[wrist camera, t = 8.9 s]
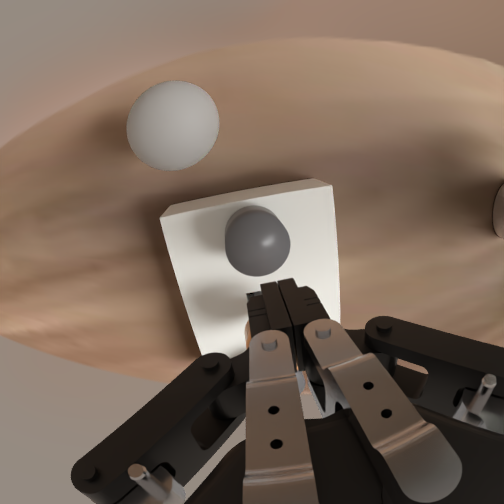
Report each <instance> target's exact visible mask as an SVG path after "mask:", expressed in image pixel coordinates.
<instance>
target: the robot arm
mask: <svg viewBox="0 0 504 504" xmlns="http://www.w3.org/2000/svg"><path fill="white" fill-rule="evenodd" d="M493 226H494V230H495V232H496V234H497V235H498V236H499V237H501V238H503V239H504V184H503V185H502V186H501V187H500V189H499V191H498V193H497V196H496V199H495V203H494V208H493ZM260 287H261V293H262V295H259V296H253V297H250V299H249V301H248V302H247V310H248V317H249V325H250V332H251V340H250V343H249V347H248V349H247V350H246V351H244V352H243V353H241V354H240V355H237V356H235V357H233V358H229V357H228V356H227V355H226V354H223V353H218V352H213V353H207V354H204V355H202V356H200V357H199V358H197V359H196V360H195V361H194V362H193V363H192V364H191V365H190V366H188V367H187V368H186V369H185V370H184V371H183V372H182V373H181V374H180V375H178V376H177V377H176V378H175V379H174V380H173V381H172V382H171V383H170V384H168V385H167V386H166V387H165V388H164V389H163V390H162V391H160V392H159V393H158V394H157V395H156V396H155V397H154V398H153V399H151V400H150V401H149V402H148V403H147V404H146V405H145V406H143V407H142V408H141V409H140V410H139V411H137V412H136V413H135V414H134V415H133V416H132V417H131V418H129V419H128V420H127V421H126V422H125V423H124V424H122V425H121V426H120V427H119V428H117V429H116V430H115V431H114V432H113V433H111V434H110V435H109V436H108V437H107V438H105V439H104V440H103V441H102V442H101V443H99V444H98V445H97V446H96V447H94V448H93V449H92V450H91V451H89V452H88V453H87V454H86V455H85V456H83V457H82V458H81V459H79V460H78V461H77V462H76V463H75V464H74V466H73V468H72V471H71V480H72V483H73V485H74V486H75V488H76V489H77V490H79V491H80V492H81V493H83V494H84V495H86V496H87V497H89V498H90V499H91V500H92V501H93V502H94V503H96V504H183V503H184V501H185V495H186V494H185V490H184V488H183V487H184V486H185V485H186V484H187V483H188V482H189V481H190V480H191V478H192V477H193V476H194V475H195V474H196V473H197V472H198V471H199V470H200V469H201V468H202V467H203V466H204V465H205V463H207V461H208V460H209V459H210V458H211V457H212V456H213V455H214V454H215V453H216V452H217V450H218V449H219V448H220V447H221V446H222V445H223V444H224V442H225V441H226V440H227V439H228V438H229V437H230V435H231V434H232V433H233V432H234V431H235V430H236V428H237V427H238V426H239V425H240V424H241V422H242V421H243V420H244V419H245V417H246V439H245V440H244V441H242V442H240V443H239V444H237V445H236V446H235V447H233V448H232V449H231V450H230V451H229V452H228V453H227V454H226V455H225V456H224V457H223V458H222V460H221V461H220V462H219V463H218V465H217V466H216V467H215V468H214V469H213V471H212V472H211V473H210V474H209V475H208V477H207V478H206V479H205V480H204V481H203V482H202V484H201V485H200V486H199V487H198V488H197V489H196V490H195V492H194V493H193V494H192V495H191V496H190V497H189V498H188V500H186V502H185V503H184V504H504V348H503V347H499V346H495V345H491V344H488V343H484V342H480V341H476V340H472V339H469V338H465V337H461V336H457V335H454V334H450V333H446V332H443V331H439V330H436V329H432V328H428V327H425V326H421V325H418V324H414V323H411V322H407V321H404V320H400V319H397V318H393V317H389V316H379V317H375V318H372V319H371V320H369V321H368V322H367V323H366V326H365V329H360V330H348V329H344V328H343V327H342V326H341V325H340V323H338V322H337V321H335V320H331V319H330V317H329V315H328V313H327V312H326V310H325V308H324V306H323V305H322V303H321V301H320V299H319V298H318V296H317V294H316V292H315V291H314V290H313V289H311V288H310V287H308V286H303V287H298V286H297V284H296V282H295V280H294V278H288V279H283V280H278V281H277V282H276V281H273V282H268V283H263V284H260ZM398 359H401V360H404V361H407V362H410V363H413V364H416V365H420V366H422V367H424V368H425V369H426V370H427V371H428V374H424V373H421V372H418V371H415V370H412V369H409V368H406V367H403V366H400V365H397V360H398ZM297 367H298V370H299V372H300V371H305V370H306V373H307V378H308V386H309V388H310V391H311V393H312V395H313V397H314V399H315V402H316V404H317V406H318V409H319V410H320V413H321V415H322V418H321V419H304V416H303V410H302V404H301V399H300V392H299V387H298V381H297V376H296V375H295V373H296V372H297Z"/></svg>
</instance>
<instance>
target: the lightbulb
mask: <svg viewBox="0 0 504 504" xmlns="http://www.w3.org/2000/svg"><path fill="white" fill-rule="evenodd" d="M218 131H219V115H218V110H217V108H216V105H215V103H214V101H213V100H212V98H211V97H210V95H209V94H208V93H206V92H205V91H204V90H203V89H202V88H200V87H198V86H197V85H195V84H192V83H189V82H185V81H166V82H162V83H159V84H157V85H155V86H152V87H150V88H149V89H148V90H146V91H145V92H144V93H142V94H141V96H140V97H139V98H138V99H137V100H136V101H135V103H134V104H133V106H132V108H131V110H130V113H129V115H128V120H127V138H128V142H129V144H130V147H131V149H132V150H133V152H134V153H135V155H136V156H137V157H138V158H139V159H140V160H141V161H142V162H144V163H145V164H147V165H149V166H150V167H153V168H156V169H158V170H164V171H177V170H181V169H185V168H188V167H190V166H192V165H194V164H196V163H197V162H199V161H200V160H202V159H203V158H204V157H205V156H206V155H207V154H208V153H209V151H210V150H211V148H212V147H213V146H214V143H215V141H216V139H217V136H218Z"/></svg>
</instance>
